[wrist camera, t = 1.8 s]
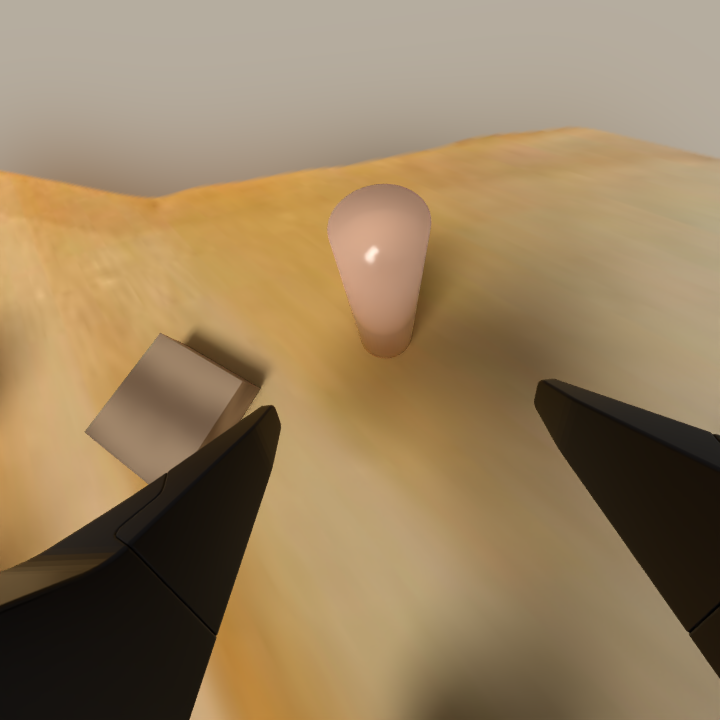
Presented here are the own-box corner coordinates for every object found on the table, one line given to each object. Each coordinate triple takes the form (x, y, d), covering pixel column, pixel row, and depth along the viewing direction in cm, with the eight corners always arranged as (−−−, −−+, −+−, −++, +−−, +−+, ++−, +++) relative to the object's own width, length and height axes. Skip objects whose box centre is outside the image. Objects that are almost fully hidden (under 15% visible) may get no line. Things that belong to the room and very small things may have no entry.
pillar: (397, 366, 23) (402, 282, 11) (351, 344, 24) (308, 246, 12) (420, 322, 24) (448, 199, 12) (374, 303, 25) (357, 173, 13)
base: (195, 491, 22) (165, 498, 19) (120, 433, 25) (84, 432, 22) (260, 388, 24) (242, 381, 21) (185, 344, 27) (160, 332, 24)
